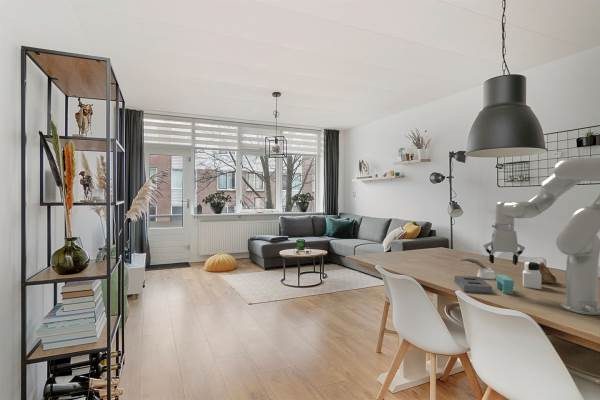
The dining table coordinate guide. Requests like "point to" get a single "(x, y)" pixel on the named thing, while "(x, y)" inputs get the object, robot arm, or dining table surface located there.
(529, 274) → the medicine bottle
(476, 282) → the slot rail
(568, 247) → the robot arm
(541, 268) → the decorative rock
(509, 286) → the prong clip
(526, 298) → the dining table surface
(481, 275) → the inkwell
